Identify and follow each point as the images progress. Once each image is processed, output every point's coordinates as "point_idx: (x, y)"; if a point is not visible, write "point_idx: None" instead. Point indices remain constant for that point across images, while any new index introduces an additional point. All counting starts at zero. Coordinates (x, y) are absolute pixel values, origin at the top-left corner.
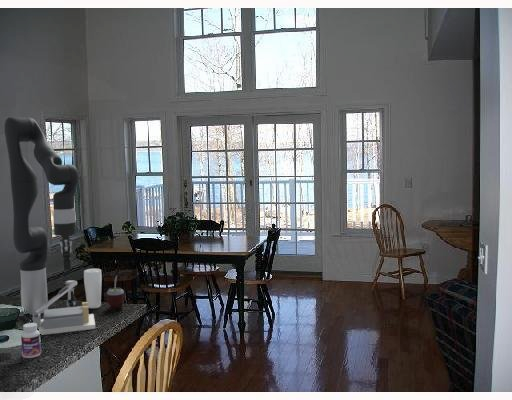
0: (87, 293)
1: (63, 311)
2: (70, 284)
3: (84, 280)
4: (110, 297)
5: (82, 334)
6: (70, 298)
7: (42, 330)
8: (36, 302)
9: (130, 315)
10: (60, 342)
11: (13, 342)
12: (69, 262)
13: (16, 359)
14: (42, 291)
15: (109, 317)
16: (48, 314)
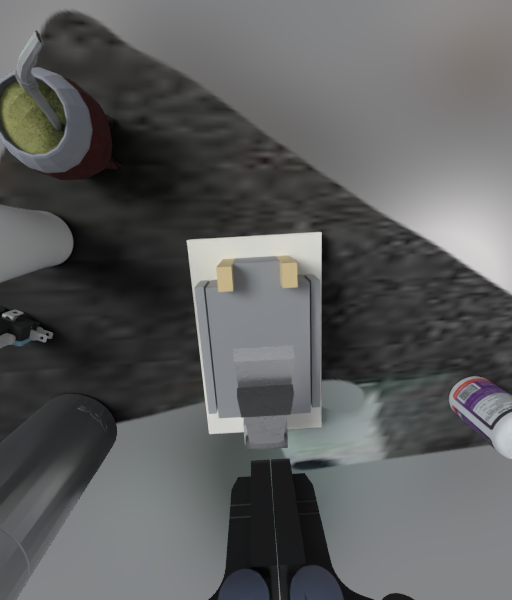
0: (26, 270)
1: None
2: (240, 380)
3: None
4: (95, 156)
5: (359, 273)
6: (8, 335)
7: (320, 392)
8: (93, 449)
9: (197, 85)
10: (405, 333)
11: (352, 446)
12: (297, 527)
13: None
14: (52, 461)
15: (201, 178)
16: None
